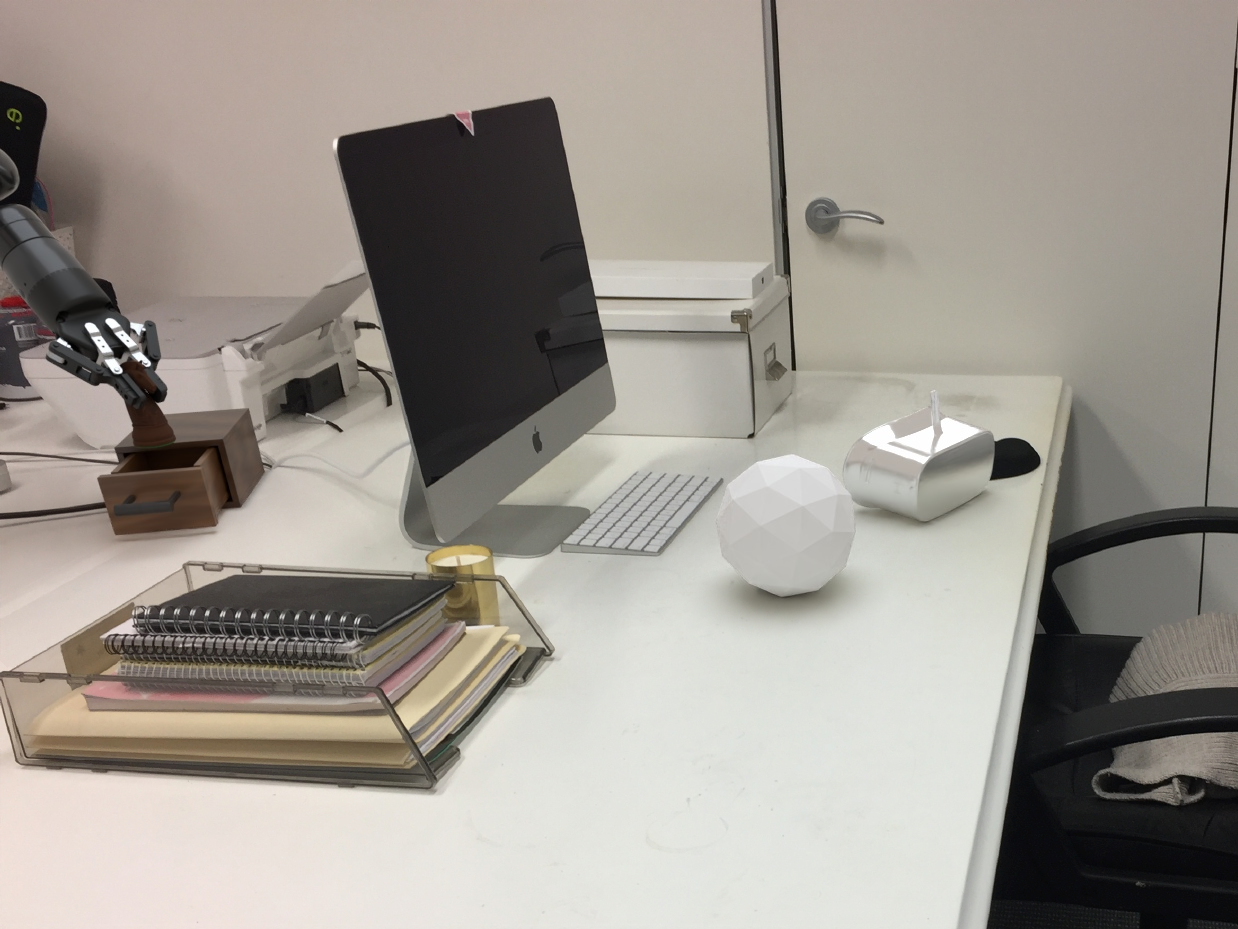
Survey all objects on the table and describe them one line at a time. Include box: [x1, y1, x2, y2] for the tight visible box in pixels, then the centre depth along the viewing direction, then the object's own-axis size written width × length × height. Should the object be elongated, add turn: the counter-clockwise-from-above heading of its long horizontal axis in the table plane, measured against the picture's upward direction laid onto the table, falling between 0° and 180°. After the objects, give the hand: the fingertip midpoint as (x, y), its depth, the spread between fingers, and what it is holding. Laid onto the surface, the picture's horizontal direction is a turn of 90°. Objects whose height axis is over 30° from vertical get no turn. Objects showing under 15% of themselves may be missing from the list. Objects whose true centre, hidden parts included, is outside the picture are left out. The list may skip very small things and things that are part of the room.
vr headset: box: [842, 390, 996, 523], centre depth 153 cm, size 18×11×14 cm, turn 142°
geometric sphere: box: [715, 453, 857, 598], centre depth 130 cm, size 14×15×15 cm
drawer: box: [96, 445, 231, 536], centre depth 152 cm, size 19×11×7 cm, turn 12°
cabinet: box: [114, 407, 266, 510], centre depth 163 cm, size 15×13×9 cm
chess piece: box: [119, 360, 176, 448], centre depth 148 cm, size 5×5×10 cm
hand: (152, 400), depth 147 cm, fingers closed on chess piece
